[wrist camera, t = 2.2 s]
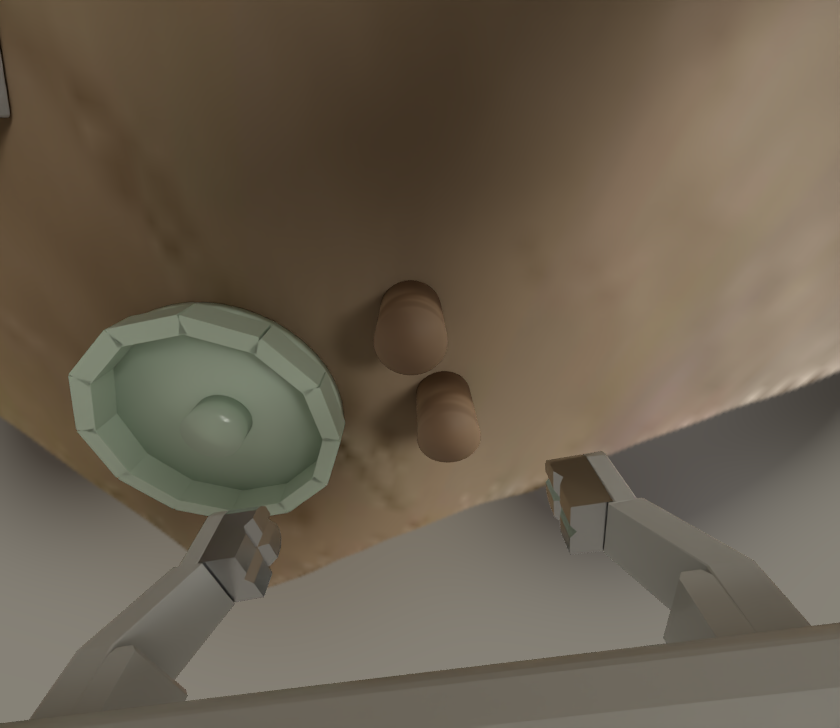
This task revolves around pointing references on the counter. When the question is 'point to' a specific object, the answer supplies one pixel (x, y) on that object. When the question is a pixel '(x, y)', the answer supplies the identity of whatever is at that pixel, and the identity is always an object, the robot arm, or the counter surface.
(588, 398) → the counter surface
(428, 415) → the brown short cylinder
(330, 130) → the counter surface
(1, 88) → the coffee box
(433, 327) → the bead
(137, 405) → the tray
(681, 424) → the counter surface
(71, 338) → the counter surface
